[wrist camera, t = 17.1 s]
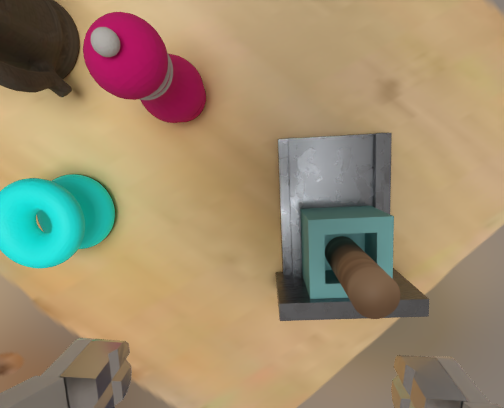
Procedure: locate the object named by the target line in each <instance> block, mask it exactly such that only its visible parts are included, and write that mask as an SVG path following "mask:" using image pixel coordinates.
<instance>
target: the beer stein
mask: <svg viewBox="0 0 504 408" xmlns="http://www.w3.org/2000/svg"><path fill="white" fill-rule="evenodd" d="M78 52H79V38H78V33H77V29H76V26H75V24H74V22H73V20H72V18H71V16H70V15H69V14H68V13H67V11H66V10H65V9H64V8H63V7H62V6H61V5H59V4H58V3H57V2H55V1H54V0H0V85H2V86H4V87H6V88H9V89H13V90H16V91H23V92H38V91H41V90H44V89H48V88H49V89H51V90H52V91H54V92H55V93H56V94H57V95H58V96H60V97H64V96H66V95H68V94H69V93H70V92H71V91H72V89H71V87H70V86H69V85H68V84H67V83H66V82H65V81H64V80H63V78H64V77H65V76H67V75H68V73H69V72H70V71H71V70H72V68H73V67H74V64H75V62H76V59H77V55H78Z"/></svg>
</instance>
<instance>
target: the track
mask: <svg viewBox="0 0 504 408" xmlns="http://www.w3.org/2000/svg"><path fill="white" fill-rule="evenodd" d="M278 157H279V182H280V208H281V233H282V258H283V272H281V273H276V287H277V297H278V307H279V317H280V321H291V320H324V319H358V318H367V317H364V316H362V315H361V314H359V313H358V312H357V311H356V309H355V308H354V306H353V305H352V303H351V301H350V299H349V298H324V299H310V297H309V294H308V291H307V288H306V285H305V282H304V279H303V276H302V250H301V215H300V209H308V208H330V207H351V206H373V207H375V208H377V209H379V210H381V211H383V212H386V213H388V214H390V187H391V133H376V134H363V135H345V136H328V137H310V138H288V139H278ZM393 280H394V281H395V282H396V283H397V285H398V287H399V289H400V302H399V304H398V306H397V308H396V309H395V310H394V311H393V312H392V313H391V314H390V315H388V316H386V317H383V318H391V317H424V316H428V314H429V299H428V298H427V297H426V296H425V295H424V294H423V293H422V292H420V291H419V290H418V289H417V288H416V287H415V286H413V285H412V284H411V283H410V282H409V281H408V280H407V279H405V278H404V277H403V276H402V275H401V274H400V273H398V272H397V271H396V270H395V269H394V268H393Z"/></svg>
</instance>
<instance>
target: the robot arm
mask: <svg viewBox="0 0 504 408" xmlns="http://www.w3.org/2000/svg"><path fill="white" fill-rule="evenodd" d="M129 353H130V351H129V343H127V342H126V341H119V340H106V339H90V338H79V339H76V340H75V341H74V342H73V343H72V344H71V345H70V346H69V347H68V348H67V349H66V350H65V351H64V353H62V354H61V355H60V356H59V357H58V358H57V359H56V361H54V363H53V364H52V365H51V366H50V367H49V368H48V369H47V370H46V371H45V372H44V373H43V374H42V375H41V376H34V377H32V378H30V379H28V380H26V381H24V382H22V383H20V384H18V385H16V386H14V387H12V388H10V389H8V390H6V391H4V392H2V393H0V408H115V405H116V404H118V403H119V402H121V401H122V400H123V399H124V397H125V395H126V393H127V391H128V388H129V385H130V382H131V373H132V372H131V365H130V364H129V362H128V361H127V360H126V358H127V356H128V355H129ZM394 368H395V370H396V372H397V374H398V375H397V376H396V377H395V378H394V379H393V380H392V389H391V390H392V391H391V392H392V400H393V404H394V408H503V407H502V406H500V405H498V404H491V403H490V401H489V400H488V399H487V398H486V397H485V395H484V394H483V393H482V392H481V390H480V389H479V388H478V387H477V386H476V384H475V383H474V382H473V381H472V380H471V379H470V377H469V376H468V375H467V373H466V372H465V371H464V370H463V369H462V367H461V366H460V365H459V364H458V362H457V361H456V360H455V359H453V358H452V357H438V356H437V357H436V356H433V357H423V356H422V357H421V356H401V355H397V357H396V359H395V363H394Z"/></svg>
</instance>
